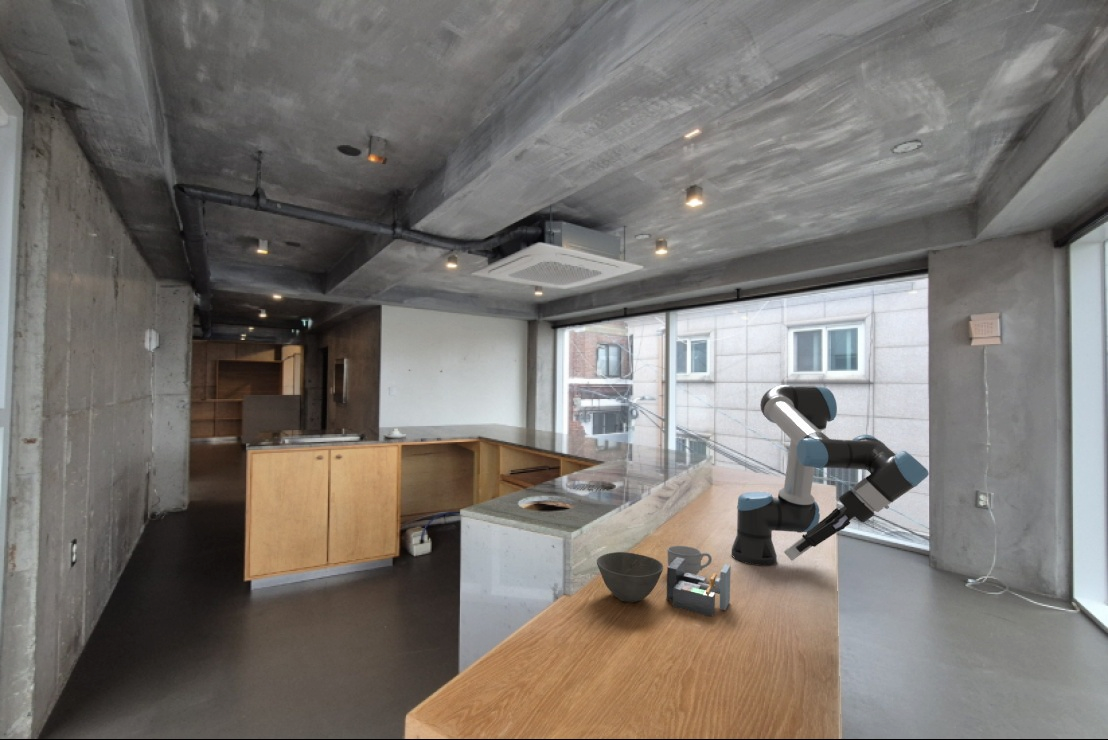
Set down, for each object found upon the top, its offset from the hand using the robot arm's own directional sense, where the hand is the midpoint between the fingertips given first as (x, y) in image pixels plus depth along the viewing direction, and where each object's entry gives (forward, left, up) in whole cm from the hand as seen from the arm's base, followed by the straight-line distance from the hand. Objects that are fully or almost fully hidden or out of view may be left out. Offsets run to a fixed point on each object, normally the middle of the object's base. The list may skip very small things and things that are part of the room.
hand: (788, 555), depth 124 cm
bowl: (+11, -40, -17) cm, 45 cm away
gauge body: (+2, -24, -17) cm, 30 cm away
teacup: (-17, -30, -17) cm, 38 cm away
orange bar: (+3, -19, -12) cm, 22 cm away
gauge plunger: (0, -19, -17) cm, 25 cm away
